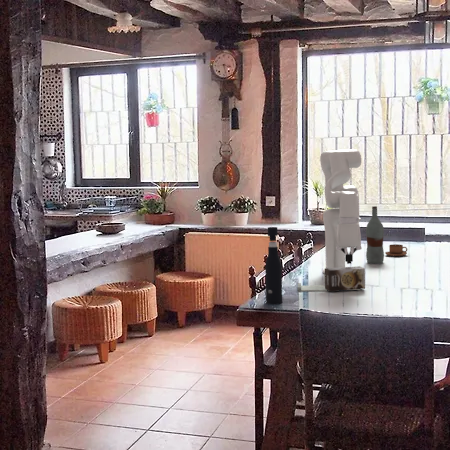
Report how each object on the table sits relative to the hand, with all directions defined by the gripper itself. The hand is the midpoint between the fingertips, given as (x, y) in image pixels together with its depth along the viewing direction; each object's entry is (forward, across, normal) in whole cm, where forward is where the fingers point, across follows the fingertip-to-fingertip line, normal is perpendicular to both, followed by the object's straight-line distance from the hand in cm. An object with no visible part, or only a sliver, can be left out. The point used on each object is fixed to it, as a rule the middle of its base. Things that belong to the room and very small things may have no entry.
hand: (349, 263), depth 300 cm
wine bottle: (+11, +32, +27) cm, 43 cm away
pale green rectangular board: (+11, +9, 0) cm, 14 cm away
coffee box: (+6, -6, +2) cm, 8 cm away
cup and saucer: (+12, -35, -97) cm, 103 cm away
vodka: (+11, -20, -72) cm, 76 cm away
